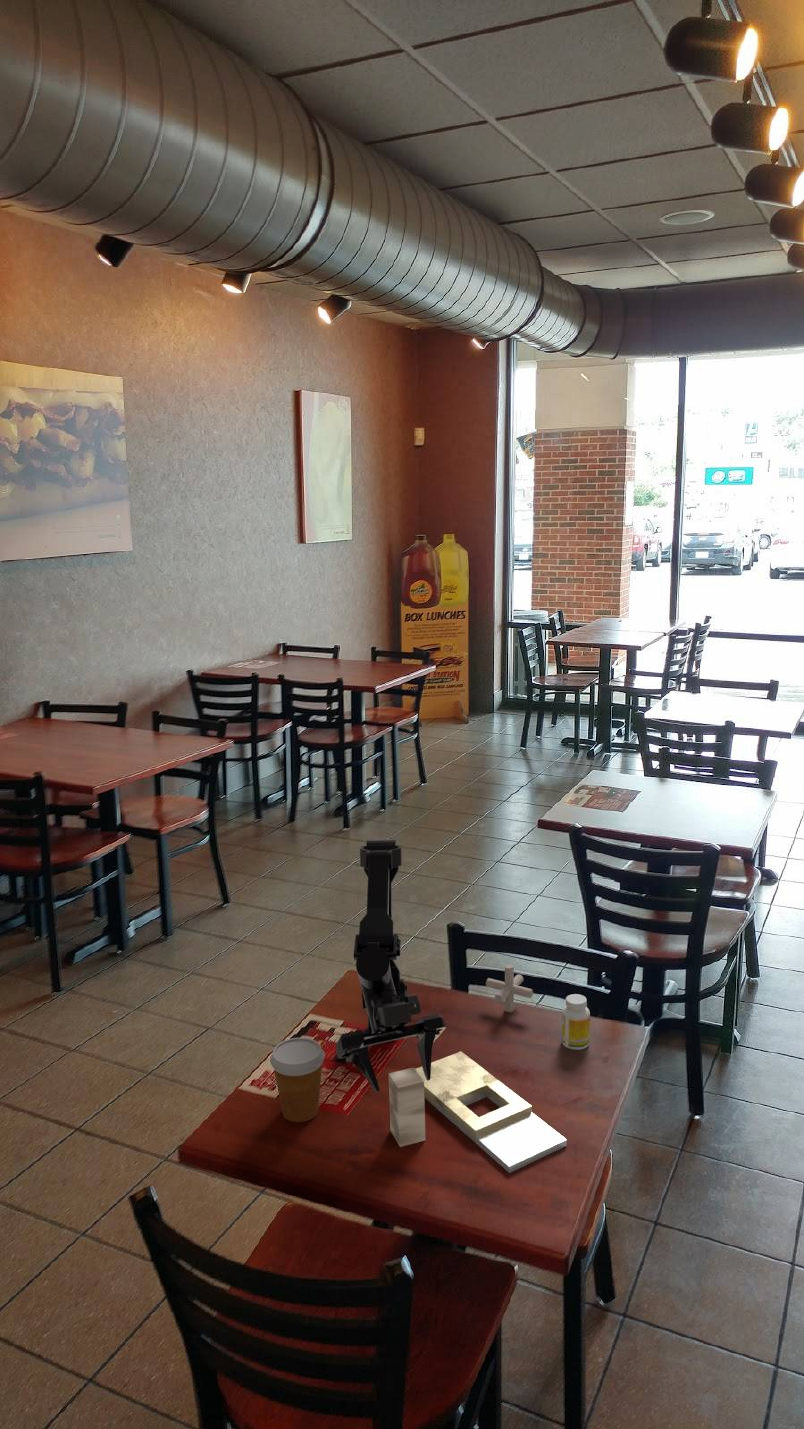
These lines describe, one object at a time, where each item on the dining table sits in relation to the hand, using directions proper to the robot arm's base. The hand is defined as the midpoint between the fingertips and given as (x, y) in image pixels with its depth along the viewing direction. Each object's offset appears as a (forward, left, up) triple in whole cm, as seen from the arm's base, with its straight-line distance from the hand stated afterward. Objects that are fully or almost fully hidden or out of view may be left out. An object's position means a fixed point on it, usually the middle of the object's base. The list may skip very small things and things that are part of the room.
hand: (403, 1085), depth 167 cm
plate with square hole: (+9, +11, -9) cm, 17 cm away
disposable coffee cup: (-19, -5, -9) cm, 22 cm away
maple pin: (+1, -1, -9) cm, 9 cm away
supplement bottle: (+14, +40, -9) cm, 44 cm away
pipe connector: (-3, +45, -9) cm, 46 cm away
